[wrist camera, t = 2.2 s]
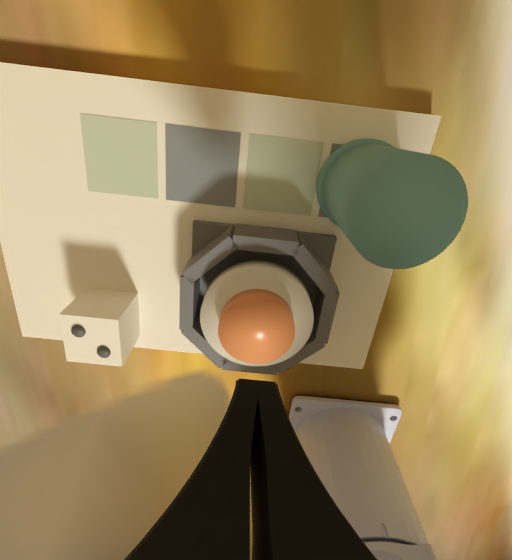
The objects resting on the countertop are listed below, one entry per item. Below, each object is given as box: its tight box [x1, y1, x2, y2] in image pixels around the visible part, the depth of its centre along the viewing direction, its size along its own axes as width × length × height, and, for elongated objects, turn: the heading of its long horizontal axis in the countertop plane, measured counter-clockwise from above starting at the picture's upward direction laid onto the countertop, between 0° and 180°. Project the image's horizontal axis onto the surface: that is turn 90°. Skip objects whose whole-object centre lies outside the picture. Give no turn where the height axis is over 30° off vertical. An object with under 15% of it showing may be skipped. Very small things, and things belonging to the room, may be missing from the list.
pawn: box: [316, 138, 468, 269], centre depth 14 cm, size 4×4×6 cm
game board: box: [0, 62, 441, 375], centre depth 17 cm, size 15×22×4 cm
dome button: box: [200, 260, 314, 366], centre depth 16 cm, size 6×6×2 cm
